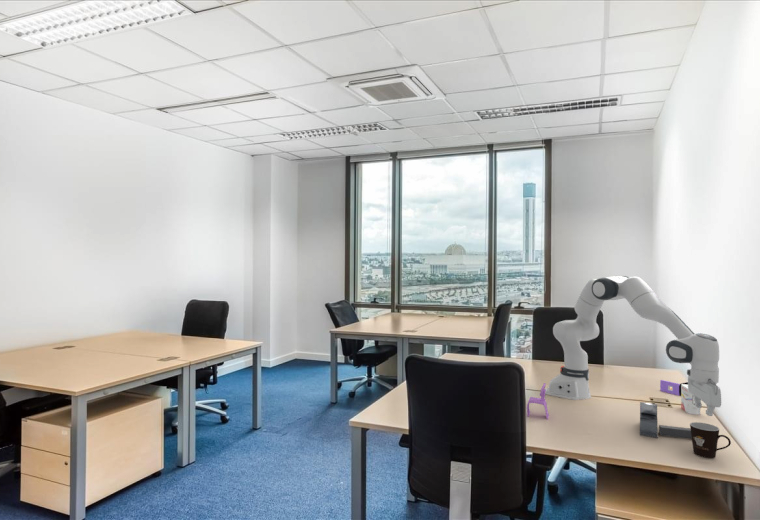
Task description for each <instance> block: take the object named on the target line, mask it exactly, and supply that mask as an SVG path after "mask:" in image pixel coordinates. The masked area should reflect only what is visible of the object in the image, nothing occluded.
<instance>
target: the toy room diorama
mask: <svg viewBox="0 0 760 520" xmlns="http://www.w3.org/2000/svg"><path fill="white" fill-rule="evenodd" d="M681 384H687V385H688V381H686V382H682V383H677V382H671V381H667V380H664V379H660V384H659V385H660V386H659V387H660V388H659V390H660V392H662V393H668V394H671V395H674V396H679V397H681Z"/></svg>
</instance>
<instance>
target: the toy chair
mask: <svg viewBox="0 0 760 520" xmlns="http://www.w3.org/2000/svg"><path fill="white" fill-rule="evenodd" d="M545 387H546V383H545V382H544V383H543V384H542V386H541V389H540V392H539V396H540V397H533V396H529V399H528V402H527V404H526V414H527V417H530V415H531V411H530V404H537V405H538V404H539V405H542V406H543V408H544V410H545V411H544V412H545V417H546V420H548V419H549V416H550V415H549V412H548V411H549V410H548V406H547V405H548V404H547V401H546V394H545V392H546V388H545Z"/></svg>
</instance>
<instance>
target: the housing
mask: <svg viewBox="0 0 760 520" xmlns="http://www.w3.org/2000/svg"><path fill="white" fill-rule="evenodd" d="M639 436H643V437H648V438H655V439H658V437H659V436H658V403H657V404H656V403H649V402H644V401H642V402H640V401H639Z"/></svg>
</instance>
